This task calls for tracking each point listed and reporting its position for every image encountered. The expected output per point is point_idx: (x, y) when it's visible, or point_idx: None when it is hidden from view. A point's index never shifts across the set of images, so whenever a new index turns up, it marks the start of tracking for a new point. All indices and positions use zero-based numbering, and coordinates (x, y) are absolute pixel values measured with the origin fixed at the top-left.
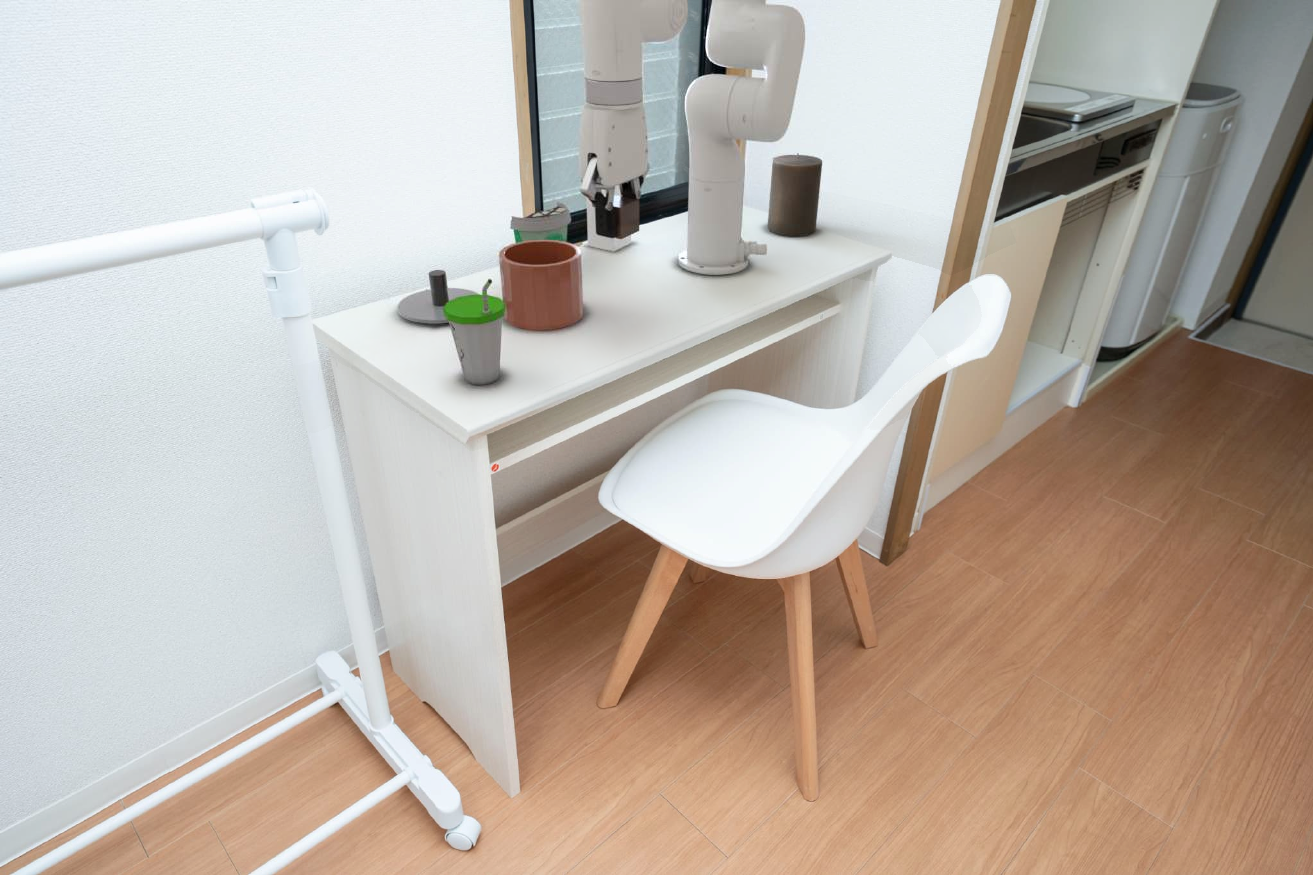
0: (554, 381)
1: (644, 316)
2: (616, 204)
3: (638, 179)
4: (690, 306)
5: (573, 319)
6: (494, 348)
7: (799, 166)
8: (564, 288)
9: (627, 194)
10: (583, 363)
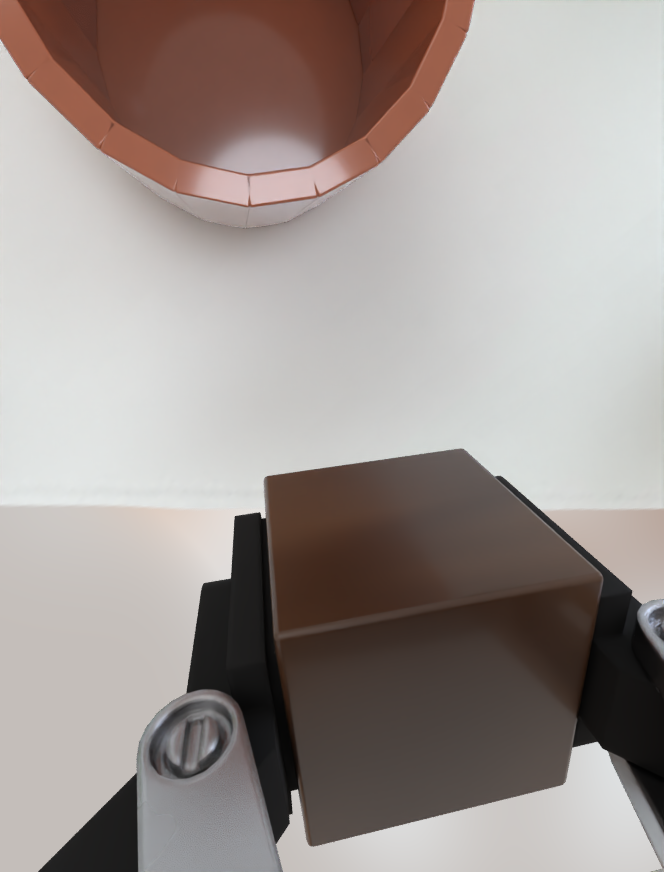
0: None
1: (427, 354)
2: (363, 782)
3: None
4: (544, 399)
5: (251, 227)
6: None
7: None
8: (212, 212)
9: (613, 718)
10: (91, 442)
